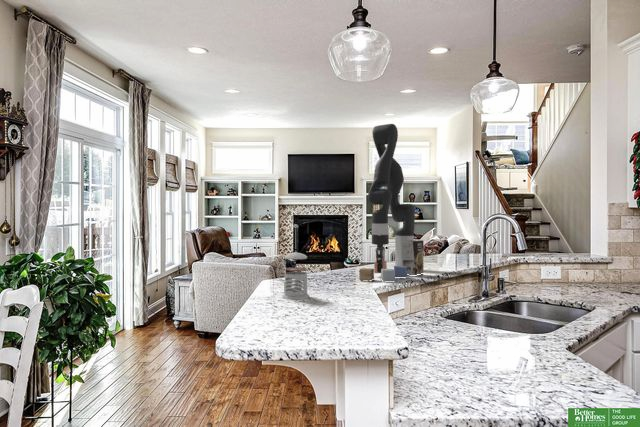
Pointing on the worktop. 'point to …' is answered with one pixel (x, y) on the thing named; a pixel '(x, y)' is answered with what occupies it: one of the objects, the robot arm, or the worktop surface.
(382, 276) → the slate block
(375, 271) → the terracotta block
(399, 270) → the navy block
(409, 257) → the coffee box
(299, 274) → the french press
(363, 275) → the walnut block
